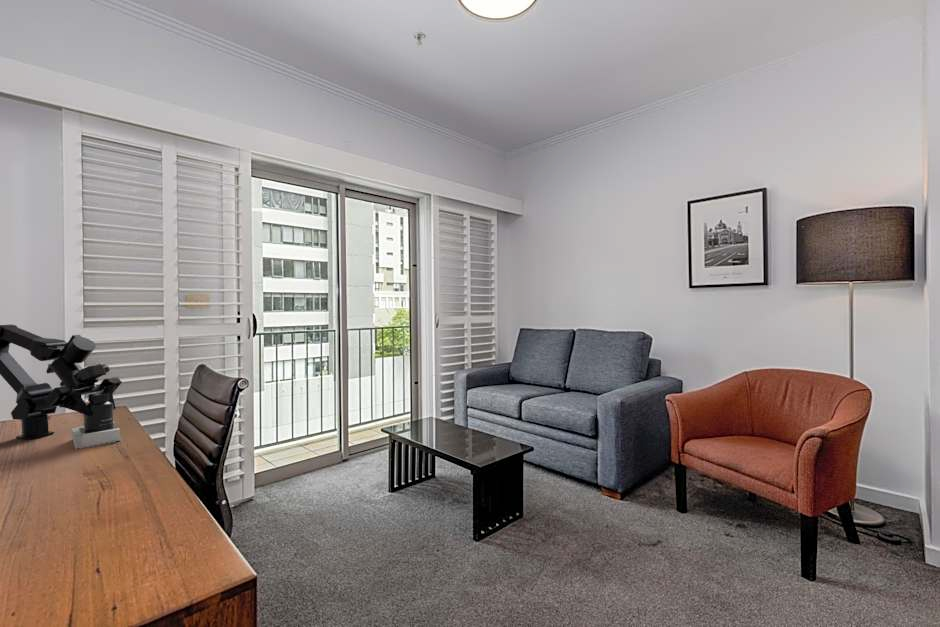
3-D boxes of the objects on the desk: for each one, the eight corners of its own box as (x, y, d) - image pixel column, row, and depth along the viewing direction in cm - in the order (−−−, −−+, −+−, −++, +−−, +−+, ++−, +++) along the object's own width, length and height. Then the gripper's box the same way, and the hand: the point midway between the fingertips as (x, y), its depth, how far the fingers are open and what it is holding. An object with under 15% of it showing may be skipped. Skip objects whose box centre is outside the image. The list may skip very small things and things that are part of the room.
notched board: (75, 449, 127) (75, 436, 127) (72, 440, 136) (71, 428, 136) (120, 441, 134) (119, 429, 134) (114, 432, 143) (114, 421, 143)
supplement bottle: (109, 435, 134) (108, 395, 133) (80, 438, 131) (79, 397, 131) (117, 429, 140) (116, 390, 140) (89, 432, 138) (88, 392, 137)
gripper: (52, 359, 127) (86, 400, 125) (116, 351, 145) (146, 387, 143) (30, 386, 128) (63, 427, 127) (96, 375, 147) (126, 411, 145)
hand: (102, 412), depth 135 cm, fingers closed on supplement bottle, 7 cm apart
